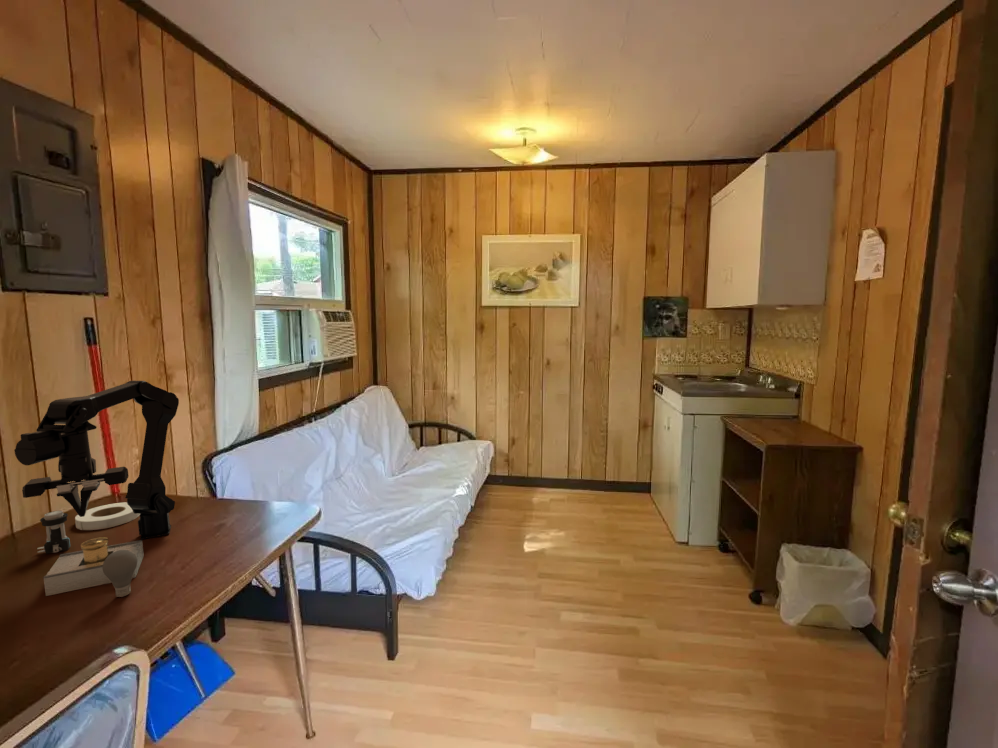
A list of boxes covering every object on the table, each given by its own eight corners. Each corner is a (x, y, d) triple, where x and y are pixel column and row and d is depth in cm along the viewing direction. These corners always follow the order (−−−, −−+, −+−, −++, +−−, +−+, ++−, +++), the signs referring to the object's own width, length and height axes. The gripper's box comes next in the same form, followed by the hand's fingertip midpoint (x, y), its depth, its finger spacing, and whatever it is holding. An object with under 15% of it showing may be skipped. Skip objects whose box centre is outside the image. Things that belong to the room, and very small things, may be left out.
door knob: (113, 567, 123) (110, 535, 122) (109, 576, 118) (105, 543, 117) (87, 572, 120) (83, 540, 120) (82, 582, 116) (78, 548, 115)
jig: (143, 556, 128) (141, 539, 128) (135, 577, 118) (133, 559, 117) (62, 571, 121) (60, 554, 121) (45, 596, 110) (43, 577, 110)
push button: (34, 558, 128) (29, 519, 127) (41, 549, 133) (36, 512, 132) (68, 552, 131) (63, 514, 130) (74, 544, 136) (69, 507, 135)
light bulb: (135, 585, 114) (131, 542, 113) (144, 594, 111) (139, 550, 109) (102, 596, 110) (97, 552, 109) (110, 606, 106) (105, 560, 105)
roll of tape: (105, 510, 160) (104, 501, 160) (152, 510, 160) (151, 501, 160) (61, 531, 145) (60, 521, 145) (113, 531, 144) (112, 521, 144)
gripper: (127, 439, 131) (134, 497, 133) (32, 450, 122) (41, 513, 124) (121, 449, 121) (128, 512, 124) (17, 462, 112) (27, 529, 114)
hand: (82, 516), depth 122 cm, fingers closed
